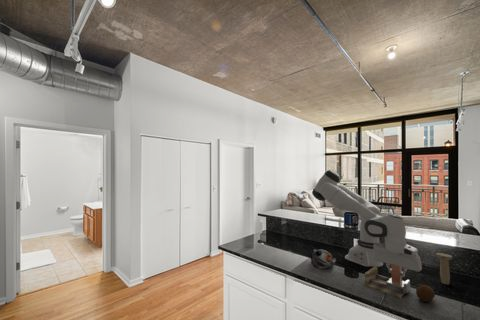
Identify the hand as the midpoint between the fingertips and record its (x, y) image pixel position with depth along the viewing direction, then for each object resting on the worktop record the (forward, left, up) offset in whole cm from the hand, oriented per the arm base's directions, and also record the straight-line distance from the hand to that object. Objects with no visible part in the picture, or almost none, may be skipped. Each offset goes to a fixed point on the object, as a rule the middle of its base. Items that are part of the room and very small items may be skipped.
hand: (396, 274), depth 114 cm
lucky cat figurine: (-39, -1, -8) cm, 40 cm away
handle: (+14, +28, -8) cm, 33 cm away
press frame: (-5, 0, -8) cm, 9 cm away
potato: (+11, 0, -8) cm, 14 cm away
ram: (+1, 0, -6) cm, 7 cm away
